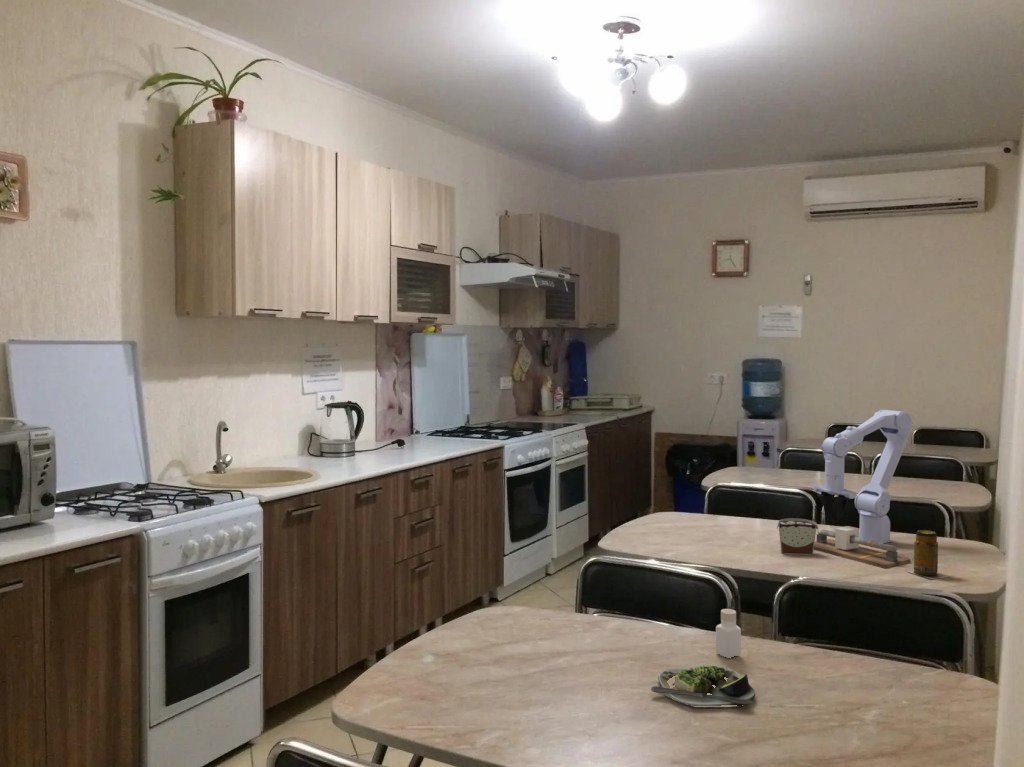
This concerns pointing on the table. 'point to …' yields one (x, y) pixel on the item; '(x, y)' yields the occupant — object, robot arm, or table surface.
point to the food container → (797, 536)
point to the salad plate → (706, 686)
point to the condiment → (926, 555)
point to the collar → (846, 537)
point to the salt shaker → (728, 635)
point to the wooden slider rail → (860, 550)
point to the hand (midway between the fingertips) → (833, 517)
